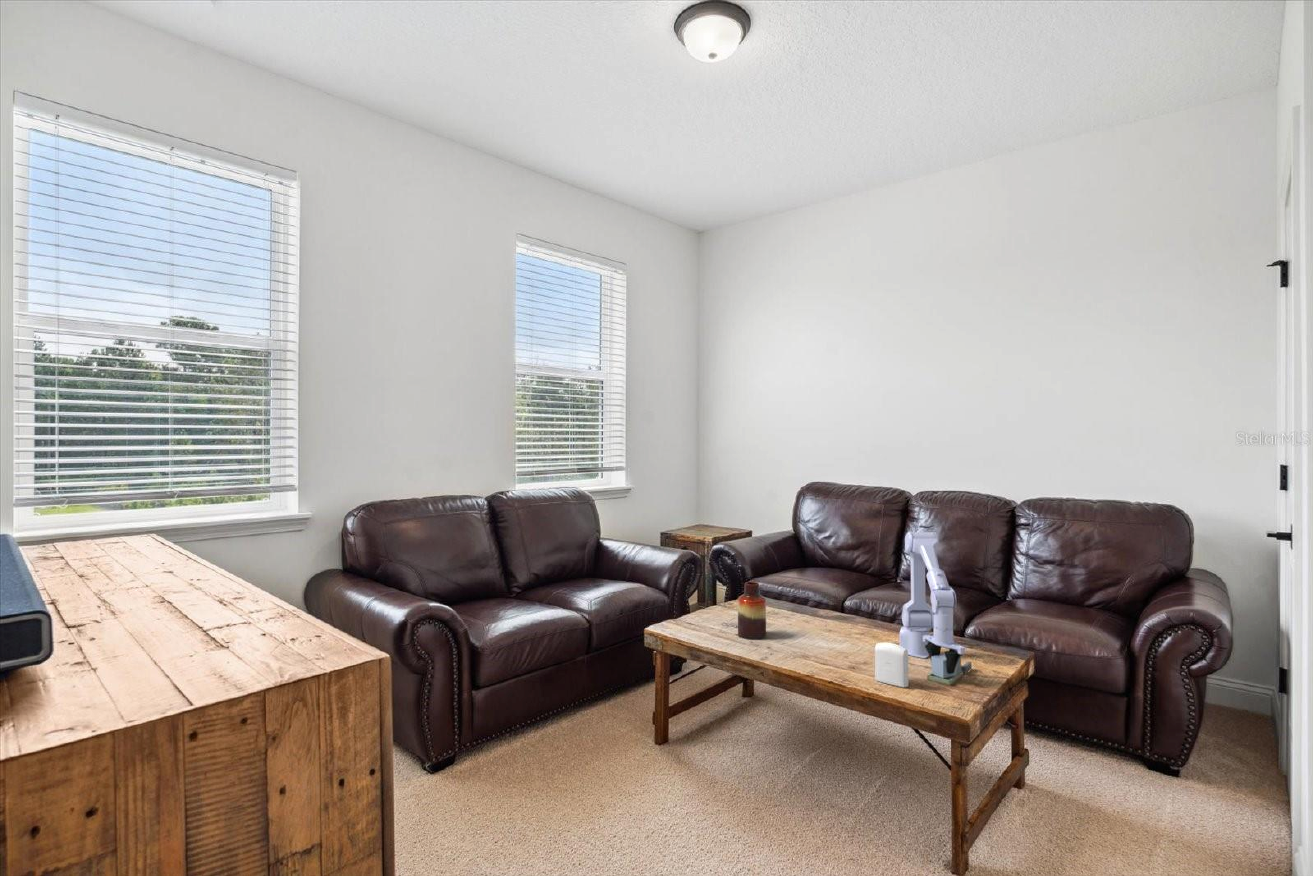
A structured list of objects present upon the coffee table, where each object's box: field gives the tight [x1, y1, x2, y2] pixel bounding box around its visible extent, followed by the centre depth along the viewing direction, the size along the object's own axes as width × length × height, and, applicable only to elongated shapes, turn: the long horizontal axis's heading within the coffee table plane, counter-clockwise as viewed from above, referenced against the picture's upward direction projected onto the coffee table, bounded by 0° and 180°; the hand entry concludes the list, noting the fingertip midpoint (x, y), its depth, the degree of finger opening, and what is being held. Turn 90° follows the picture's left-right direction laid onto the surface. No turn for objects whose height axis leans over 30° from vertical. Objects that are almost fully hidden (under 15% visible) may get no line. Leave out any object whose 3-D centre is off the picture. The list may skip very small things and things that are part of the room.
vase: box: [737, 581, 767, 641], centre depth 255 cm, size 11×11×20 cm
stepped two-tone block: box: [930, 653, 962, 678], centre depth 210 cm, size 4×9×6 cm, turn 116°
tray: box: [926, 671, 963, 687], centre depth 210 cm, size 7×12×2 cm, turn 138°
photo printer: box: [874, 641, 909, 689], centre depth 206 cm, size 10×4×12 cm, turn 47°
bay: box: [961, 660, 972, 675], centre depth 218 cm, size 8×6×2 cm
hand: (943, 670), depth 209 cm, fingers open, 5 cm apart
